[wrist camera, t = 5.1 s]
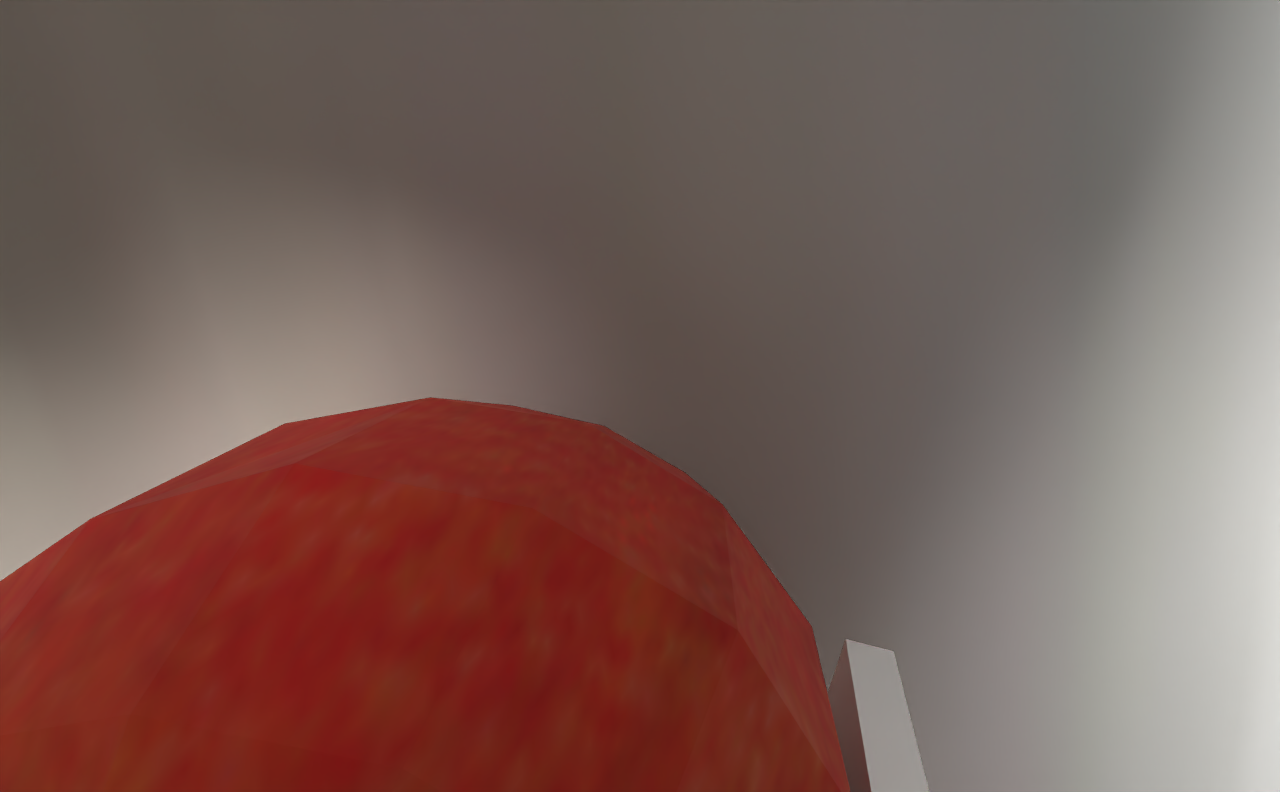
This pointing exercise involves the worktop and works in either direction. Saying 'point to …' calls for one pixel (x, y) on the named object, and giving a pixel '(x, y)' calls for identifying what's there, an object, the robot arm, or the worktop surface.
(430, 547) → the apple
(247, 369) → the worktop surface
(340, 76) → the worktop surface
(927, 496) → the worktop surface
